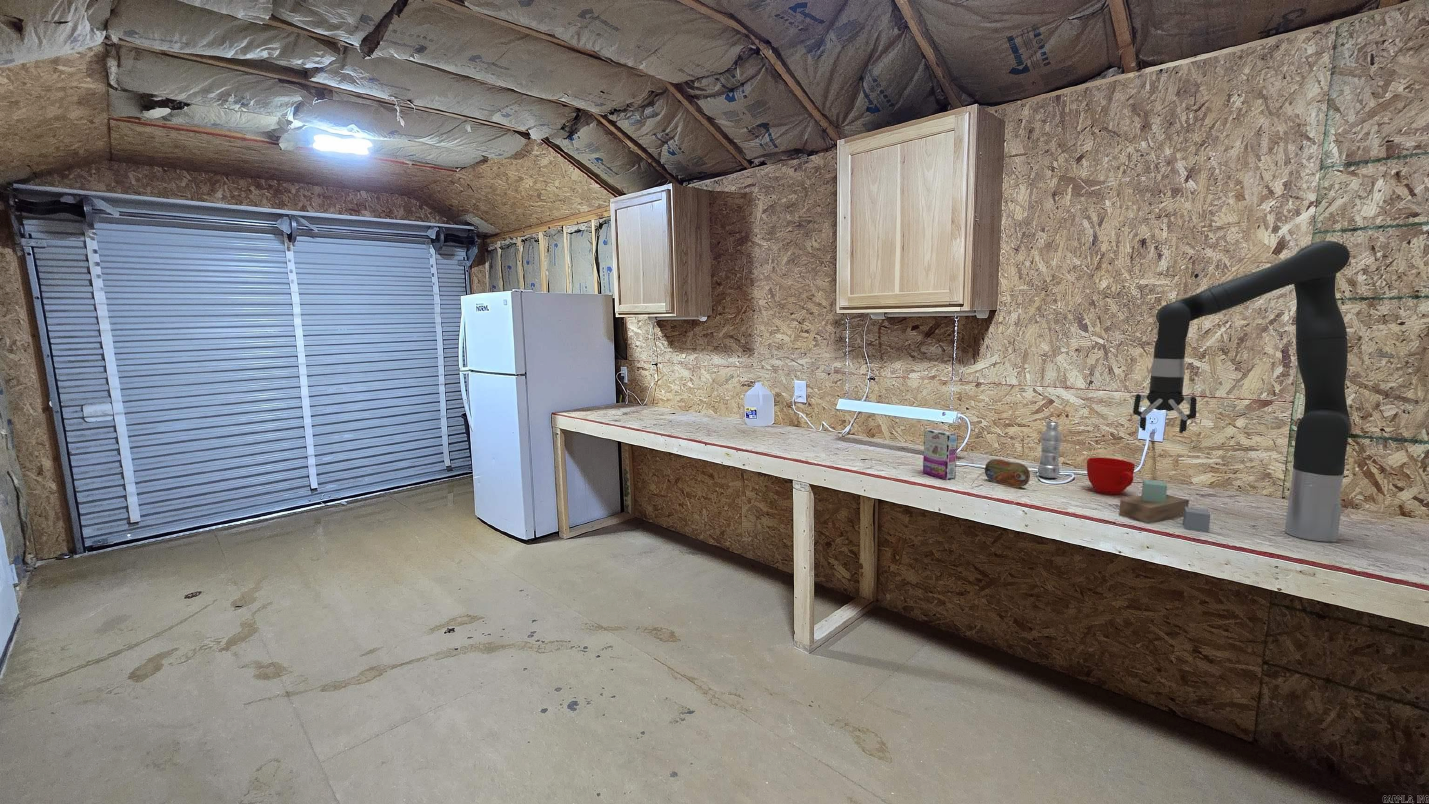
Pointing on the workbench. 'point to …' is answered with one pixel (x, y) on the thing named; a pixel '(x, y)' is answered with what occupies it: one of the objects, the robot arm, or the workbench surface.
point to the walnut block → (1152, 509)
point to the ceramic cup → (1110, 474)
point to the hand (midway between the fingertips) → (1161, 431)
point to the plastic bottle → (1050, 451)
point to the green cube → (1154, 491)
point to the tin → (1007, 473)
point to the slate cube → (1196, 519)
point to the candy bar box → (940, 453)
